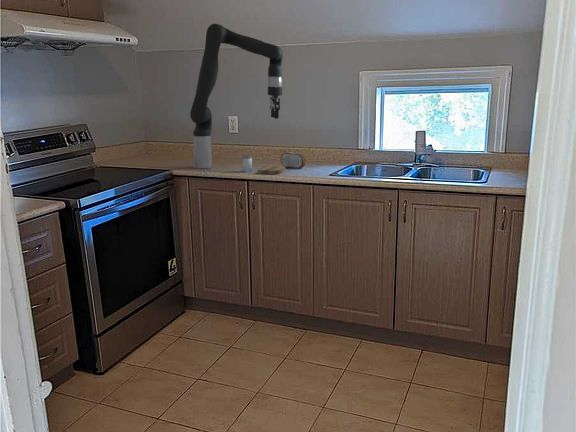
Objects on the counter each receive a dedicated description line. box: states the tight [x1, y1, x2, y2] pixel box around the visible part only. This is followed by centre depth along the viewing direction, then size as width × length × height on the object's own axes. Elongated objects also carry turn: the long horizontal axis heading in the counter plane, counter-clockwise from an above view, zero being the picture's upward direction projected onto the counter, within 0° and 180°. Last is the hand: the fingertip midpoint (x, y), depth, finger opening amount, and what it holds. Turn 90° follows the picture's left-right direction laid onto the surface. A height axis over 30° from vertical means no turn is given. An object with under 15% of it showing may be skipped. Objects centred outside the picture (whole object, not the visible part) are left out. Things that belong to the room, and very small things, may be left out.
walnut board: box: [257, 165, 286, 175], centre depth 277 cm, size 11×14×2 cm
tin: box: [280, 151, 306, 169], centre depth 291 cm, size 15×3×8 cm, turn 56°
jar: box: [242, 154, 253, 173], centre depth 279 cm, size 5×5×8 cm
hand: (274, 117), depth 281 cm, fingers open, 8 cm apart
